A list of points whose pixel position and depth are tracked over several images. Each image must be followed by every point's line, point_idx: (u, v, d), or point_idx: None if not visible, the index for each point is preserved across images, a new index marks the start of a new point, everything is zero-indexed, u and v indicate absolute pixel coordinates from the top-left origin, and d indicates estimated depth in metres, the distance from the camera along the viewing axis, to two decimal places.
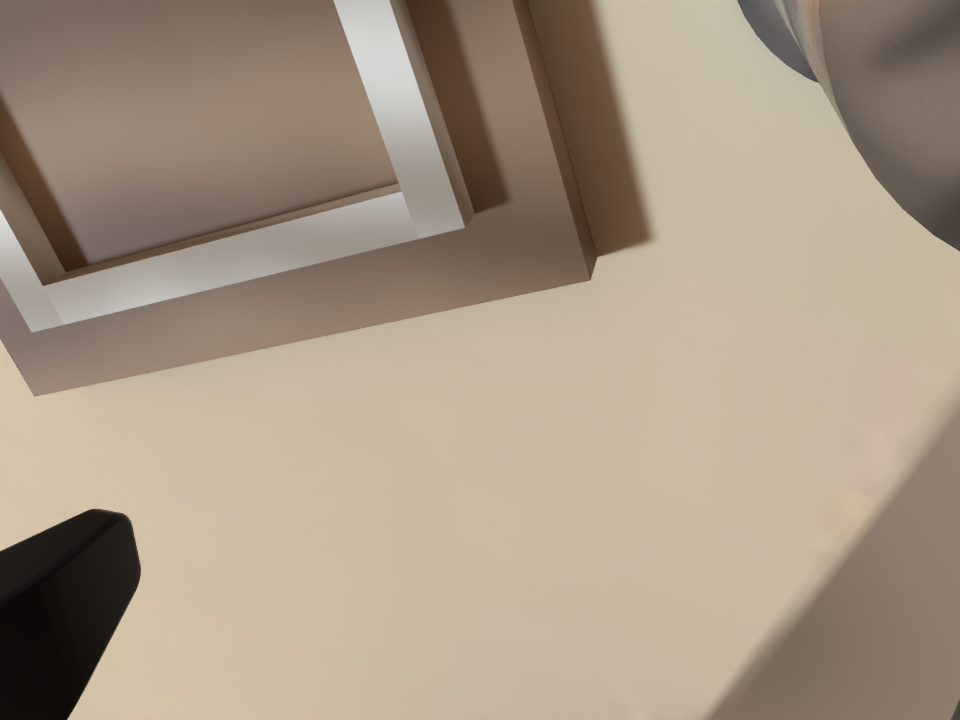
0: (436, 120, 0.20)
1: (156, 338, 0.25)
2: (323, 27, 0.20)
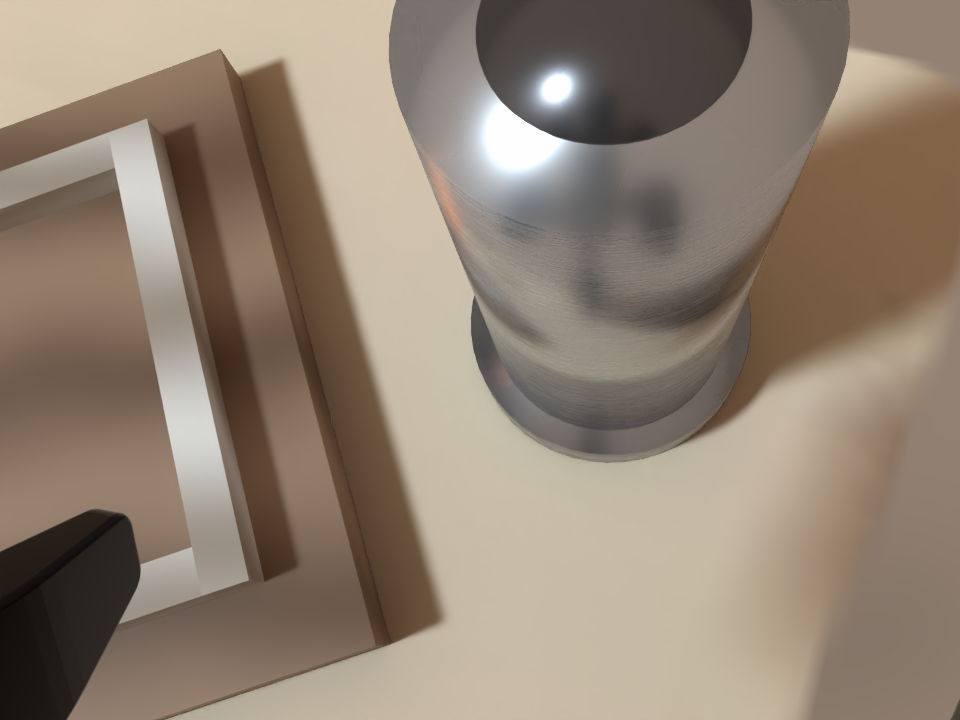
0: (234, 484, 0.22)
1: None
2: (149, 420, 0.23)
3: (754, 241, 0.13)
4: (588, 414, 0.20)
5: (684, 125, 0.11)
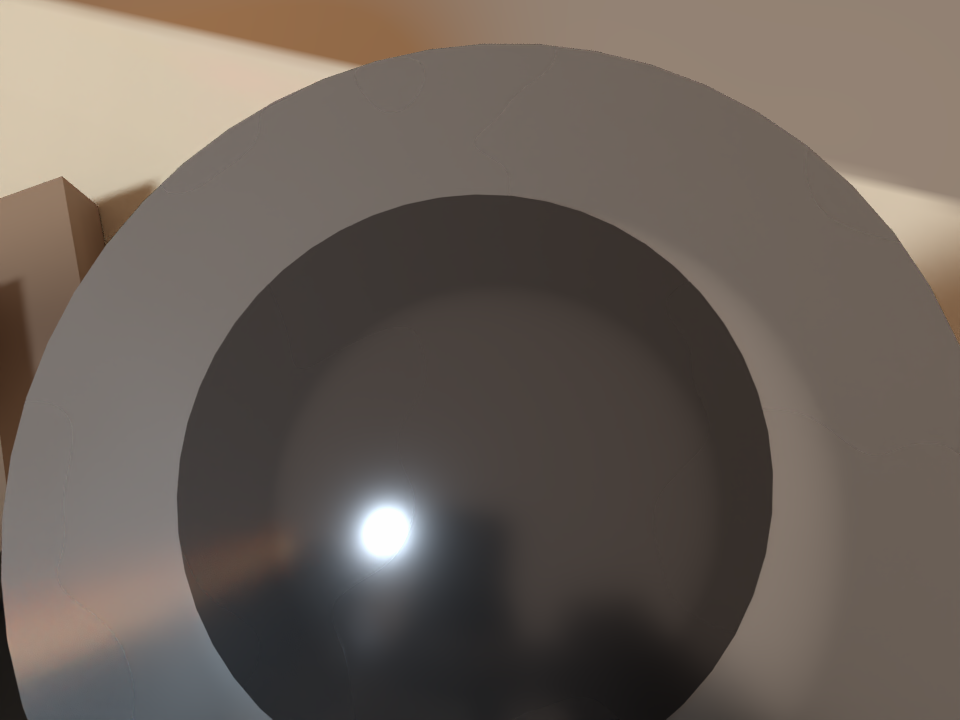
0: None
1: None
2: None
3: None
4: None
5: None
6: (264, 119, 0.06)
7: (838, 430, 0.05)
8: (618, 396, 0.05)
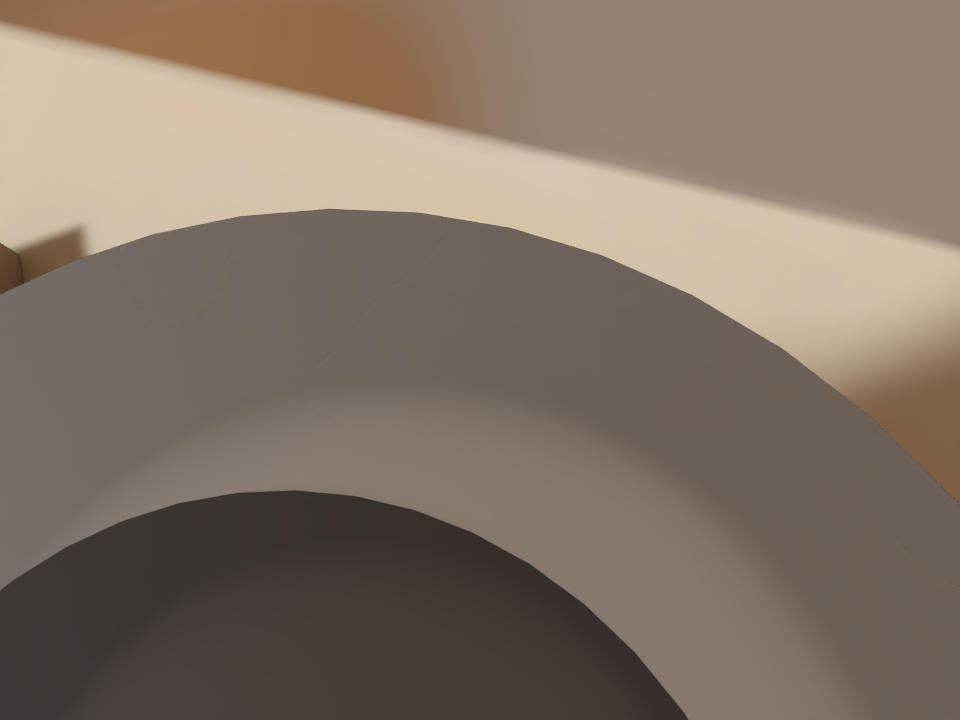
0: None
1: None
2: None
3: None
4: None
5: None
6: None
7: None
8: None
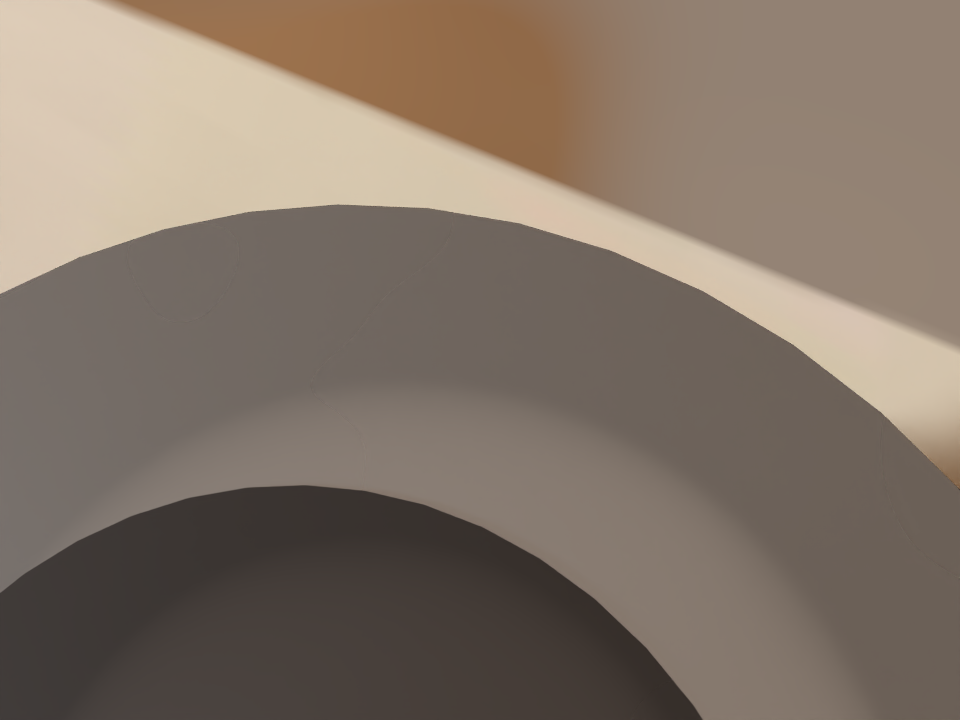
0: None
1: None
2: None
3: None
4: None
5: None
6: None
7: None
8: None
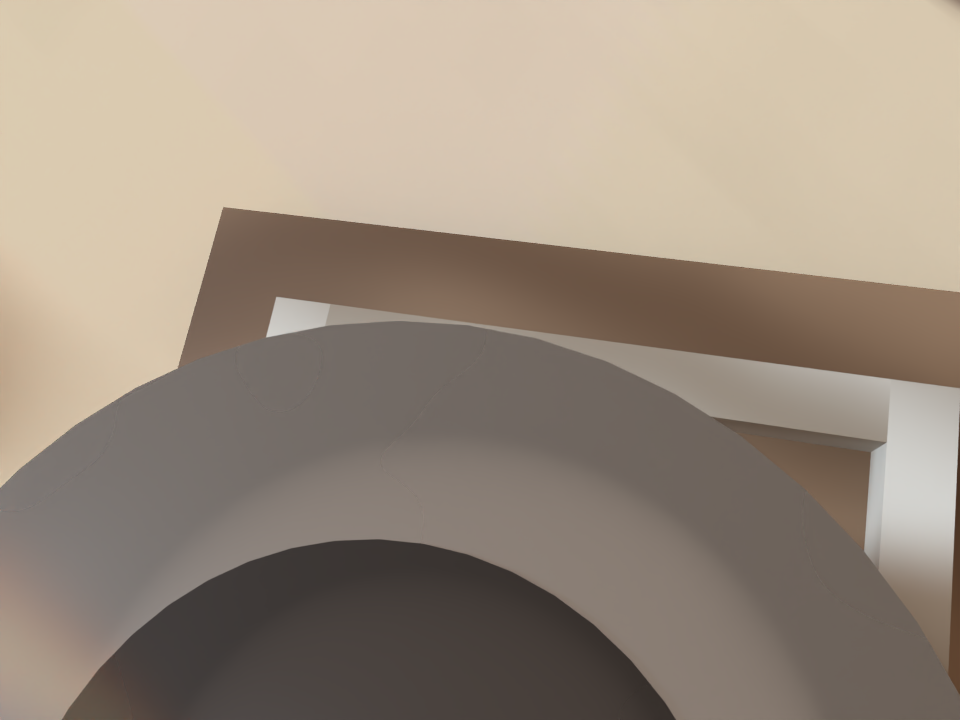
0: None
1: None
2: None
3: None
4: None
5: None
6: (120, 413, 0.05)
7: None
8: None
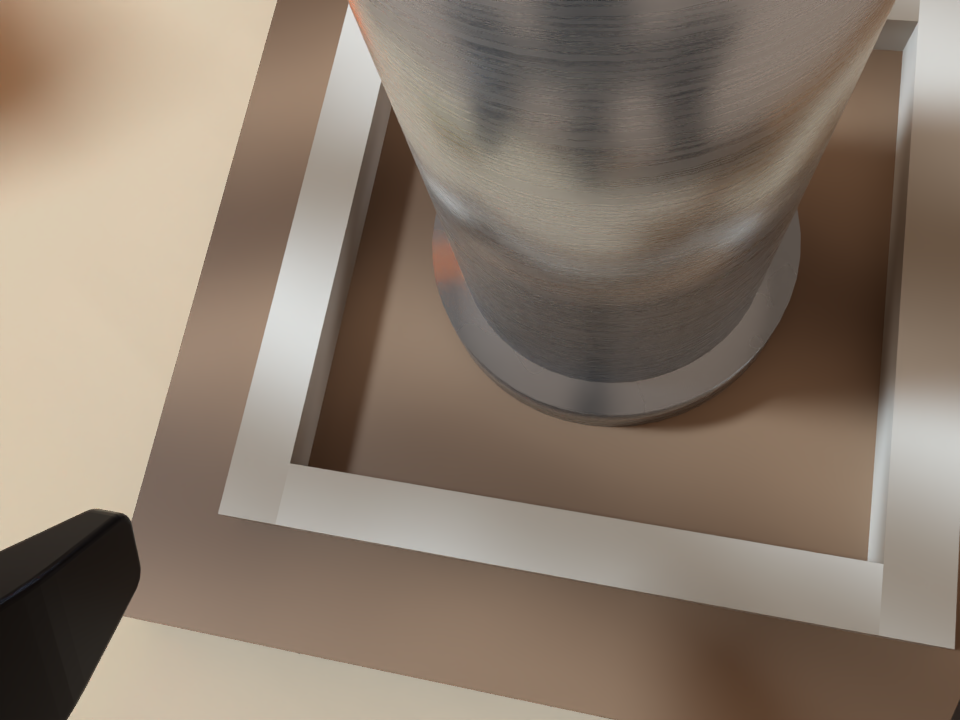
0: (951, 506, 0.16)
1: (363, 612, 0.17)
2: (834, 360, 0.17)
3: (870, 2, 0.07)
4: (585, 356, 0.15)
5: None
6: None
7: None
8: None
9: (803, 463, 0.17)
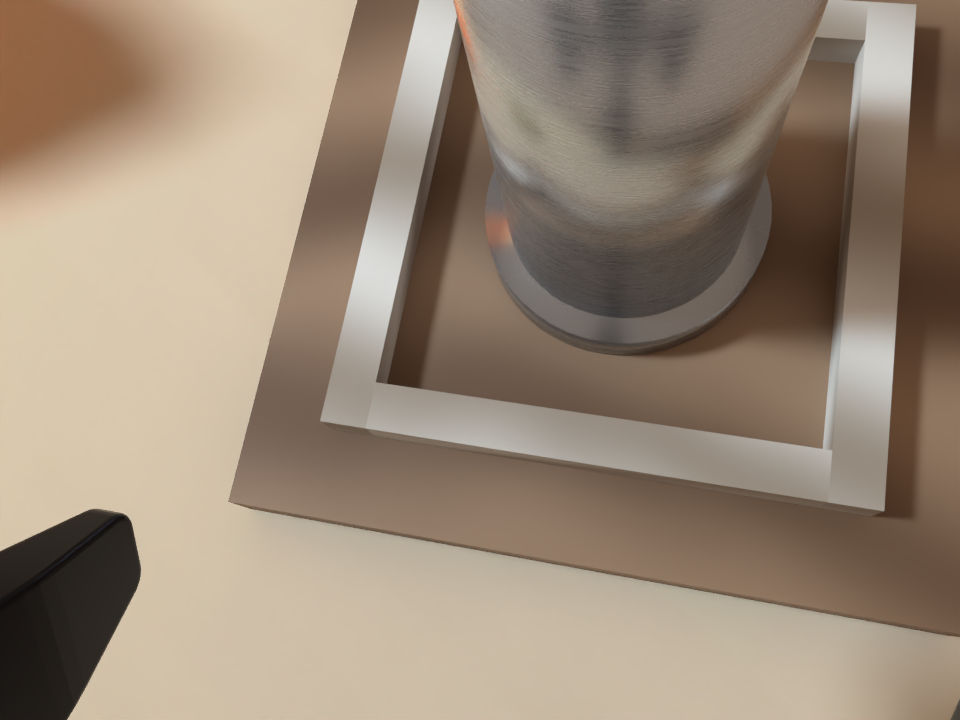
0: (885, 410, 0.21)
1: (432, 498, 0.22)
2: (798, 303, 0.22)
3: (791, 38, 0.12)
4: (607, 293, 0.20)
5: None
6: None
7: None
8: None
9: (774, 381, 0.22)
